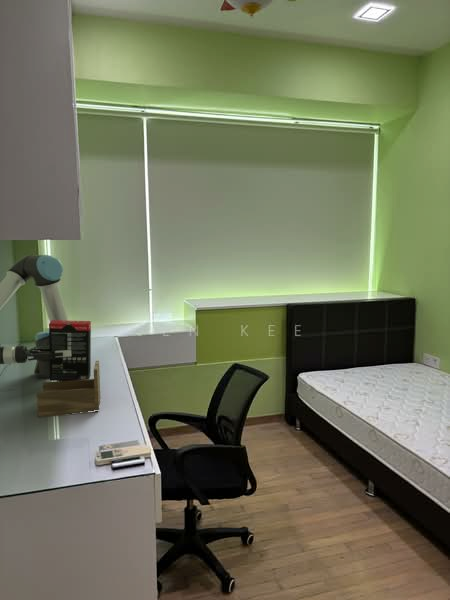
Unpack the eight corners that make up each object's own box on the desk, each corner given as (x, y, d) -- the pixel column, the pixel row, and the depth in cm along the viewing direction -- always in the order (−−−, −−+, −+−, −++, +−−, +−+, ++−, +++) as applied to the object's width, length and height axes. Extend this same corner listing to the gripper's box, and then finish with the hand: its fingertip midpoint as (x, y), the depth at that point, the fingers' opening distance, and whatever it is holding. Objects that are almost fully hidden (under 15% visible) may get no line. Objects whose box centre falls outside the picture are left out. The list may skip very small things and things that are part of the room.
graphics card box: (91, 376, 198) (91, 319, 192) (89, 382, 191) (89, 323, 186) (52, 376, 195) (51, 318, 189) (49, 382, 188) (47, 323, 183)
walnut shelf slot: (44, 404, 185) (42, 364, 182) (100, 399, 190) (99, 360, 188) (38, 417, 171) (35, 373, 169) (98, 411, 177) (97, 369, 174)
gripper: (21, 356, 195) (75, 353, 200) (11, 369, 177) (70, 365, 182) (20, 340, 194) (74, 337, 199) (9, 352, 175) (69, 348, 181)
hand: (72, 351), depth 190 cm, fingers closed on graphics card box, 6 cm apart
